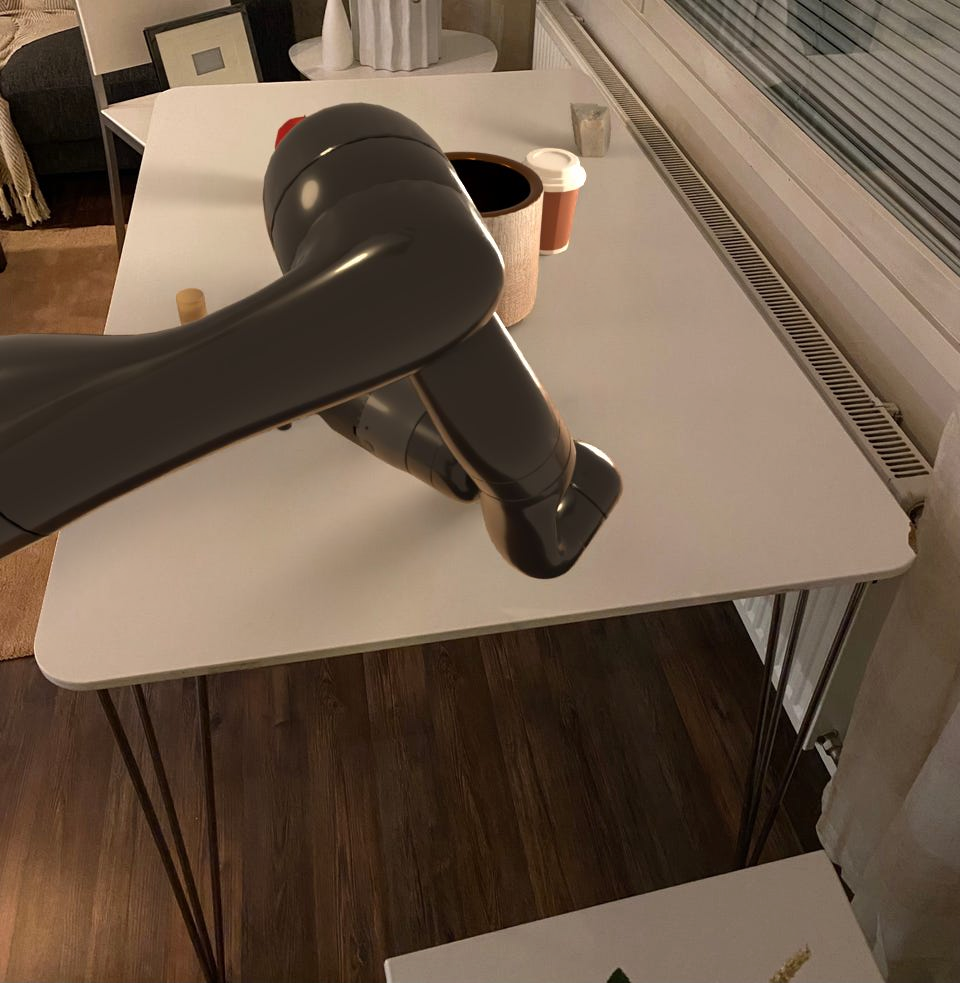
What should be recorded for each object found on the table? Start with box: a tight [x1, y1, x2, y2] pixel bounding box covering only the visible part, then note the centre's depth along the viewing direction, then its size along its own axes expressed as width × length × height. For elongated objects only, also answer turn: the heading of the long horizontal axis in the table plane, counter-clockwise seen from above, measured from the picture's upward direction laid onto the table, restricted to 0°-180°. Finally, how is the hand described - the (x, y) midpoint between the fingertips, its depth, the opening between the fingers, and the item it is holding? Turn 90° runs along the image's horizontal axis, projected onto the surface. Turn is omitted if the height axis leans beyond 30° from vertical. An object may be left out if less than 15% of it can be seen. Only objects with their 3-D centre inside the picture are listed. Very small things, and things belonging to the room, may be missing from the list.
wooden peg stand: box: [175, 287, 208, 326], centre depth 96 cm, size 5×5×13 cm
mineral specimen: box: [569, 102, 612, 158], centre depth 153 cm, size 7×9×8 cm
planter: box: [443, 151, 544, 329], centre depth 115 cm, size 18×18×16 cm
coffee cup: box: [521, 147, 587, 256], centre depth 129 cm, size 9×9×12 cm
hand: (262, 336), depth 86 cm, fingers open, 8 cm apart
